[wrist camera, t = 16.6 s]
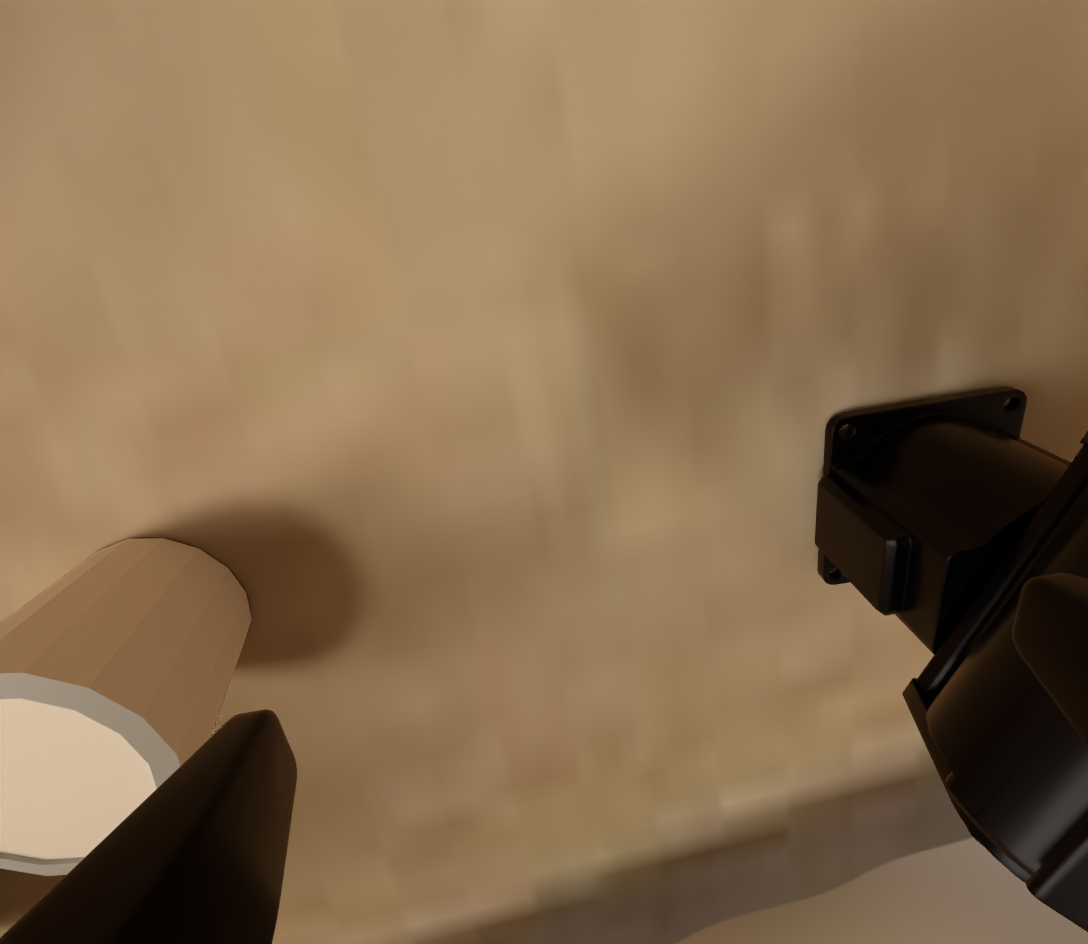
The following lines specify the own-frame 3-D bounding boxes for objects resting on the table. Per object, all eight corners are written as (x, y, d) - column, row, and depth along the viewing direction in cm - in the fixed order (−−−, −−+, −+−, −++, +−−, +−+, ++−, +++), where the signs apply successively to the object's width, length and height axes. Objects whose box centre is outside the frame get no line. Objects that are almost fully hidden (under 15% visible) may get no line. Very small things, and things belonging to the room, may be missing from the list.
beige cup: (10, 543, 20) (-208, 710, 14) (226, 501, 20) (109, 648, 14) (110, 703, 23) (-33, 903, 16) (297, 666, 23) (229, 850, 17)
